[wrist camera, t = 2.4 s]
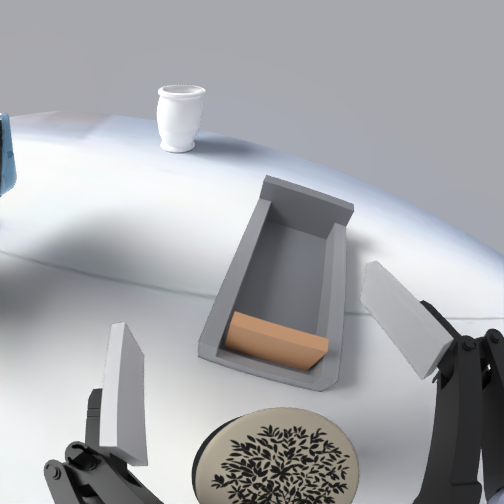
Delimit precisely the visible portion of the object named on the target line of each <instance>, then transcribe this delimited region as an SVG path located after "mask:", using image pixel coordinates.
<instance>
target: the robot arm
mask: <svg viewBox="0 0 504 504" xmlns="http://www.w3.org/2000/svg"><path fill="white" fill-rule="evenodd" d="M16 179H17V175H16V167H15V161H14V154H13V147H12V138H11V130H10V121H9V116H8V114H6V113H4V114H0V197H1V196H2V195H3V194H4V193H6V192H7V191H9V190H10V189H12V188H13V187H14V185H15V183H16ZM360 301H361V303H362V304H363V305H364V306H365V307H366V309H367V310H368V311H369V312H370V314H371V315H372V316H373V317H374V319H375V320H376V321H377V322H378V324H379V325H380V326H381V327H382V329H383V330H384V331H385V332H386V334H387V335H388V336H389V337H390V339H391V340H392V341H393V343H394V344H395V345H396V346H397V348H398V349H399V350H400V352H401V353H402V354H403V356H404V357H405V358H406V360H407V361H408V362H409V364H410V365H411V366H412V368H413V369H414V370H415V372H416V373H417V374H418V376H419V377H420V378H421V380H423V379H425V378H426V377H428V376H429V375H431V374H432V373H433V372H434V370H435V369H436V367H437V368H438V369H439V371H438V373H437V374H436V376H435V377H434V378H433V381H432V383H434V382H435V381H436V379H437V382H436V383H437V396H436V408H435V418H434V426H433V433H432V440H431V446H430V452H429V457H428V462H427V466H426V471H425V475H424V479H423V483H422V487H421V491H420V493H419V495H418V497H417V498H416V499H415V500H414V502H413V504H479V503H480V498H481V493H482V485H481V484H480V483H479V482H478V481H477V474H478V468H479V460H480V451H481V449H482V460H483V477H484V491H485V497H486V501H487V503H486V504H504V337H503V335H502V334H501V333H500V332H499V331H498V330H496V329H489V330H488V331H487V332H486V334H485V336H484V337H480V338H476V339H474V338H472V337H470V336H467V335H466V336H461V335H460V334H459V333H458V332H457V331H456V330H455V329H454V328H453V327H452V325H451V324H450V323H449V322H448V321H447V320H446V319H445V318H444V317H442V315H441V314H440V313H439V312H438V311H437V310H436V309H435V308H434V307H433V306H432V305H431V304H429V303H428V302H426V301H424V300H423V301H420V302H419V301H418V300H417V299H416V298H415V297H414V296H413V295H412V294H411V293H410V292H409V291H408V290H407V289H406V288H405V287H404V286H403V285H402V284H401V283H400V282H399V281H398V280H397V279H396V278H395V277H394V276H393V275H392V274H391V273H389V272H388V271H387V270H386V269H385V268H384V267H383V266H382V265H381V264H380V263H379V262H378V261H374V262H370V263H367V264H366V268H365V275H364V280H363V286H362V292H361V297H360ZM489 364H490V367H491V369H490V370H489V369H488V367H487V366H488V365H489ZM65 460H66V462H64V463H61V462H59V461H57V460H49V461H48V462H47V463H46V464H45V466H44V476H45V479H46V482H47V484H48V487H49V490H50V492H51V495H52V497H53V500H54V502H55V504H164V503H163V502H162V501H160V500H159V499H158V498H157V497H156V496H155V495H154V494H153V493H152V492H150V491H149V490H148V489H147V488H146V487H145V486H144V485H143V484H142V483H141V482H140V481H139V480H138V479H137V478H136V477H135V476H134V475H133V474H132V473H131V472H130V471H129V470H128V469H127V463H128V464H130V465H132V466H148V458H147V447H146V433H145V411H144V354H143V352H142V351H141V349H140V347H139V346H138V344H137V342H136V341H135V339H134V337H133V335H132V334H131V332H130V330H129V328H128V326H127V325H126V323H125V322H121V323H116V324H112V327H111V332H110V338H109V344H108V350H107V357H106V364H105V372H104V381H103V388H102V389H93V391H92V393H91V395H90V397H89V399H88V410H87V420H86V435H85V444H84V443H82V442H79V441H77V442H73V443H71V444H69V445H68V447H67V448H66V451H65Z"/></svg>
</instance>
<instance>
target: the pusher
mask: <svg viewBox="0 0 504 504" xmlns="http://www.w3.org/2000/svg"><path fill="white" fill-rule="evenodd" d="M328 343H329V339H327V338H323V337H320V336H316V335H312V334H309V333H305V332H302V331H298V330H295V329H291V328H288V327H284V326H281V325H278V324H274V323H271V322H268V321H264V320H261V319H258V318H255V317H252V316H248V315H245V314H242V313H239V312H236V311H235V312H234V315H233V318H232V320H231V323H230V327H229V331H228V335H227V339H226V344H225V347H226V348H229V349H232V350H235V351H238V352H241V353H245V354H248V355H251V356H254V357H258V358H261V359H265V360H268V361H272V362H275V363H279V364H282V365H286V366H290V367H294V368H298V369H302V370H306V371H307V370H308V369H309V368H310V367H311V366H313V365H314V364H315V363H316V362H317V361H318V360H319V359H320V358H321V357H322V356H323V355H324V354H326V353H327V351H328Z"/></svg>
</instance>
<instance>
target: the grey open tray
mask: <svg viewBox="0 0 504 504" xmlns="http://www.w3.org/2000/svg"><path fill="white" fill-rule="evenodd" d="M353 212H354V204H352V203H349V202H346V201H344V200H341V199H338V198H335V197H332V196H330V195H327V194H324V193H321V192H318V191H315V190H312V189H309V188H306V187H303V186H300V185H297V184H294V183H291V182H288V181H284V180H281V179H278V178H275V177H271V176H268V175H266V177H265V179H264V181H263V185H262V189H261V194H260V198H259V200H258V202H257V205H256V207H255V209H254V212H253V214H252V216H251V218H250V221H249V223H248V225H247V228H246V230H245V232H244V235H243V237H242V239H241V242H240V244H239V246H238V248H237V251H236V253H235V255H234V258H233V260H232V263H231V265H230V267H229V270H228V272H227V274H226V277H225V279H224V281H223V284H222V286H221V288H220V291H219V293H218V296H217V298H216V300H215V303H214V305H213V307H212V310H211V312H210V315H209V317H208V319H207V322H206V324H205V327H204V329H203V331H202V334H201V336H200V339H199V341H198V357H199V358H202V359H205V360H208V361H211V362H214V363H217V364H219V365H222V366H226V367H229V368H232V369H235V370H238V371H241V372H245V373H248V374H251V375H255V376H258V377H262V378H265V379H269V380H273V381H276V382H280V383H284V384H288V385H292V386H296V387H301V388H305V389H310V390H314V391H319V392H321V391H323V390H325V389H326V388H328V387H329V386H331V385H333V384H334V383H336V382H337V381H338V376H339V367H340V358H341V348H342V337H343V324H344V308H345V286H346V226H347V224H348V222H349V220H350V218H351V216H352V214H353ZM235 311H236V312H239V313H242V314H245V315H248V316H252V317H255V318H258V319H261V320H264V321H268V322H271V323H274V324H278V325H281V326H284V327H288V328H291V329H295V330H298V331H302V332H305V333H309V334H312V335H316V336H320V337H323V338H327V339H329V343H328V351H327V353H326V354H324V355H323V356H322V357H321V358H320V359H319V360H318V361H317V362H316V363H315V364H314V365H313V366H311V367H310V368H309V369H308V370H307V371H306V370H302V369H298V368H294V367H290V366H286V365H282V364H279V363H275V362H272V361H268V360H265V359H261V358H258V357H254V356H251V355H248V354H245V353H241V352H238V351H235V350H232V349H229V348H226V347H225V344H226V339H227V335H228V331H229V327H230V323H231V320H232V318H233V315H234V312H235Z"/></svg>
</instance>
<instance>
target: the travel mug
mask: <svg viewBox="0 0 504 504" xmlns="http://www.w3.org/2000/svg"><path fill="white" fill-rule="evenodd" d="M358 483H359V463H358V458H357V455H356V452H355V449H354V447H353V445H352V443H351V442H350V440H349V439H348V437H347V436H346V434H345V433H344V432H343V431H342V430H341V429H340V428H339V427H338V426H337V425H335V424H334V423H333V422H331V421H330V420H328V419H327V418H325V417H323V416H321V415H319V414H316V413H314V412H311V411H307V410H303V409H298V408H287V407H280V408H269V409H264V410H259V411H256V412H252V413H250V414H247V415H244V416H241V417H238V418H235V419H233V420H231V421H229V422H227V423H225V424H223V425H222V426H220V427H219V428H217V429H216V430H215V431H213V432H212V433H211V434H210V435H209V436H208V437H207V438H206V440H205V441H204V442H203V443H202V445H201V446H200V448H199V450H198V452H197V454H196V456H195V459H194V462H193V467H192V485H193V490H194V493H195V496H196V498H197V500H198V502H199V503H200V504H351V503H352V501H353V499H354V497H355V494H356V491H357V487H358Z"/></svg>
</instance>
